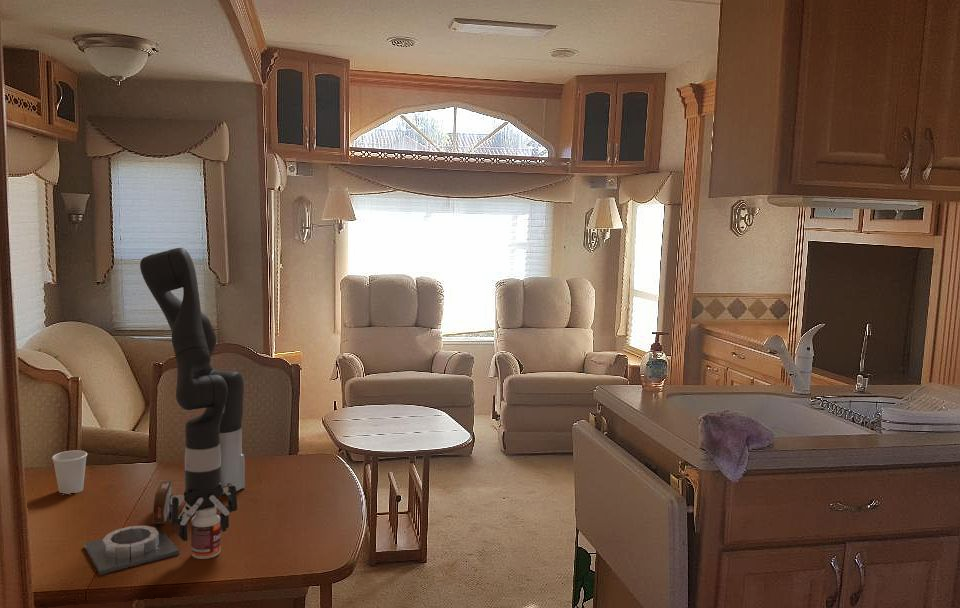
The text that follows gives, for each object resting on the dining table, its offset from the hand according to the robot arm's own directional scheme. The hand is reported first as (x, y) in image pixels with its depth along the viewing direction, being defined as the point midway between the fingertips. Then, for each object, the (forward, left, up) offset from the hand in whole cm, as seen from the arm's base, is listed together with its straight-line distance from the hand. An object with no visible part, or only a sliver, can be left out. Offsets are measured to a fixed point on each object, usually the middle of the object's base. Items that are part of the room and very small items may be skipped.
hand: (203, 535), depth 162 cm
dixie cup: (+17, -58, -5) cm, 61 cm away
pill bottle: (0, 0, -5) cm, 5 cm away
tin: (+2, -26, -5) cm, 26 cm away
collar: (+13, -11, -5) cm, 17 cm away
